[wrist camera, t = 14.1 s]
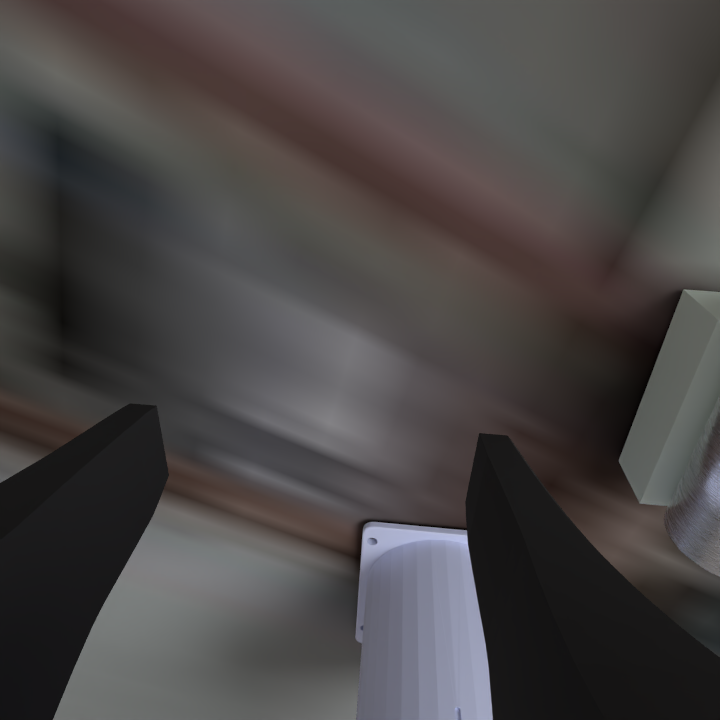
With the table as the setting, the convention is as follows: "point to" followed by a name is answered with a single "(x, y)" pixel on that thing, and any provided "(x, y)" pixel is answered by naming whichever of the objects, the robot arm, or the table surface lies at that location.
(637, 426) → the v block
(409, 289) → the table surface
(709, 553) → the axle
